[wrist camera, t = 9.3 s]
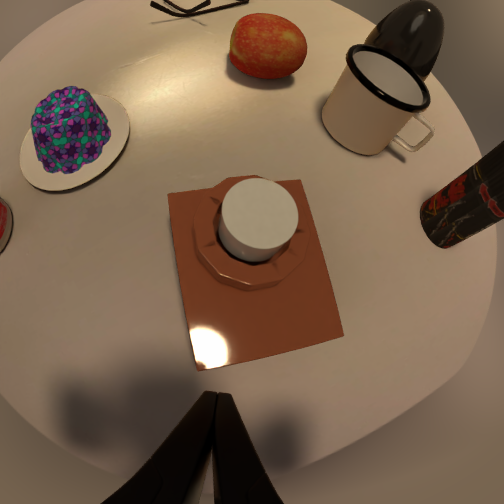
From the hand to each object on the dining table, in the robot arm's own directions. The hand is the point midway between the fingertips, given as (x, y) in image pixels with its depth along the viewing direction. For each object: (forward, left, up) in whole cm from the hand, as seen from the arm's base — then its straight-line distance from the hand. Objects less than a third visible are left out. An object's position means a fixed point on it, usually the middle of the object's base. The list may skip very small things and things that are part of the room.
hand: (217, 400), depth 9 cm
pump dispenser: (+32, -32, -14) cm, 47 cm away
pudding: (+22, +9, -14) cm, 28 cm away
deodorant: (+8, -28, -14) cm, 32 cm away
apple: (+30, -12, -14) cm, 35 cm away
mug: (+20, -22, -14) cm, 33 cm away
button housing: (+6, -5, -13) cm, 16 cm away
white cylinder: (+8, -5, -8) cm, 12 cm away
